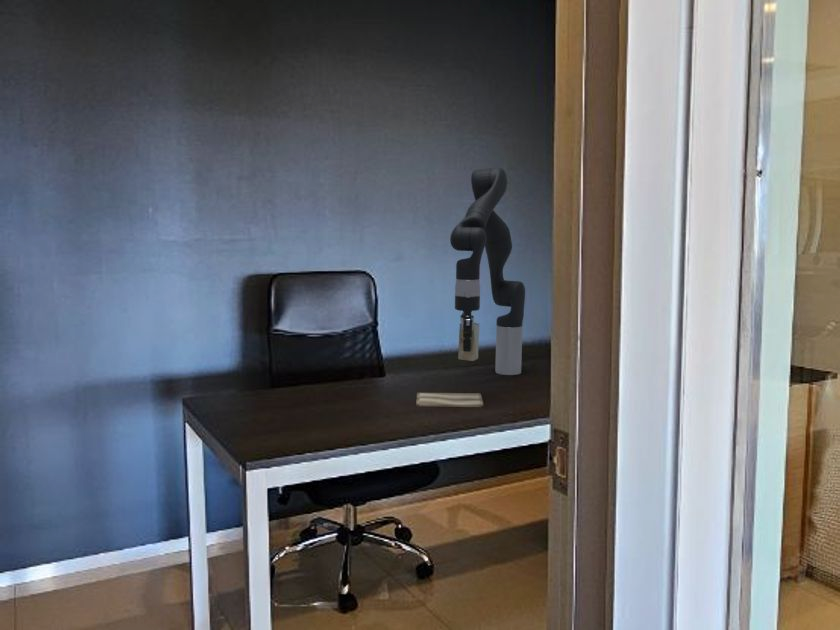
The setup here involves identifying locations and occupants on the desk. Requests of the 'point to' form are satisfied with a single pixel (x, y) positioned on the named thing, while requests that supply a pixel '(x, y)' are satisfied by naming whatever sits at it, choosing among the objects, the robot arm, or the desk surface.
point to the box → (474, 344)
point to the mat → (449, 399)
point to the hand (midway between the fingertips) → (466, 349)
